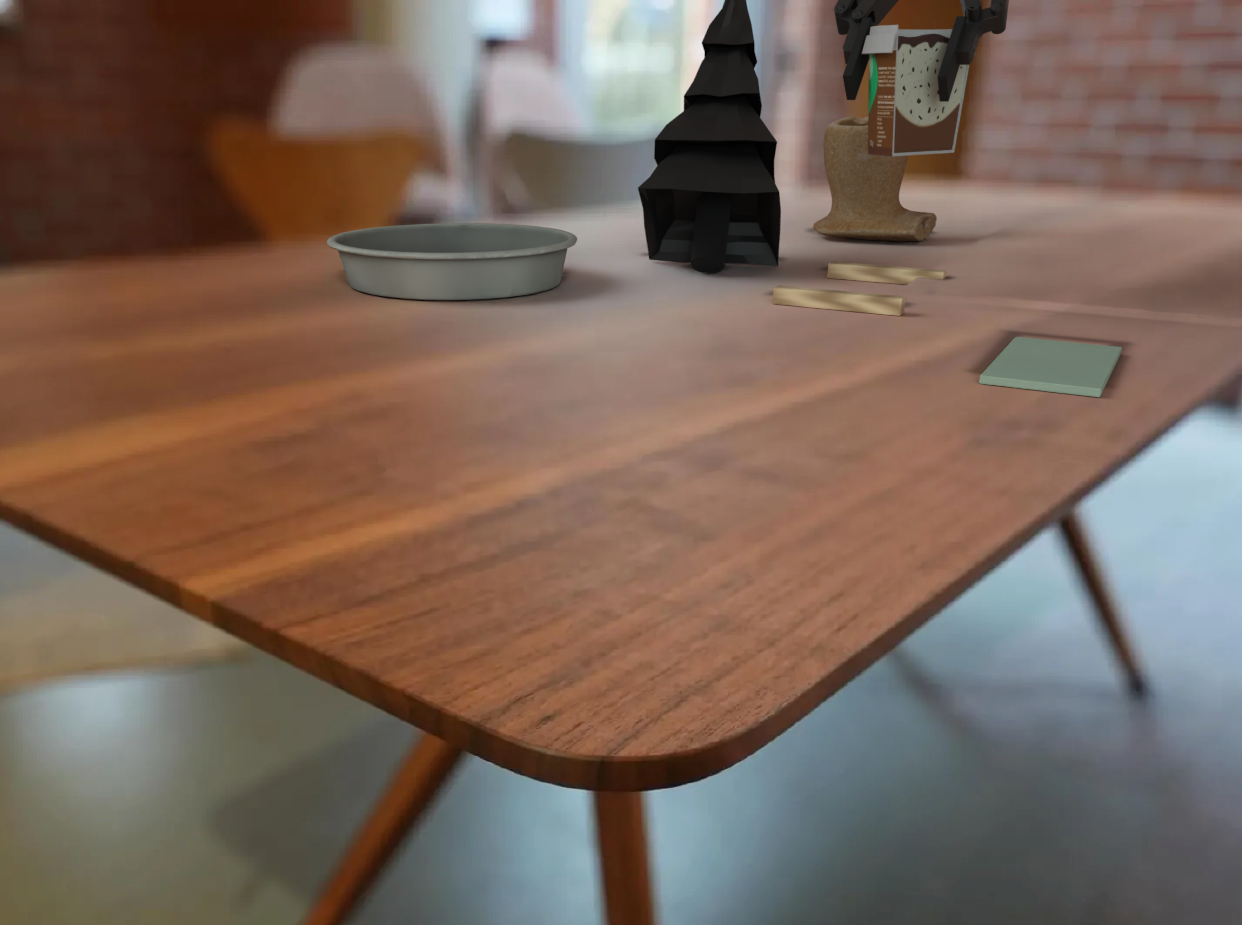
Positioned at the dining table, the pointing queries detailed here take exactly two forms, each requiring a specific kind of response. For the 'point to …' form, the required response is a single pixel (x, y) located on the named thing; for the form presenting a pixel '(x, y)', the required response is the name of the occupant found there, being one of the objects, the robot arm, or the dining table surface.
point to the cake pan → (453, 260)
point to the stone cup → (866, 189)
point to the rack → (856, 299)
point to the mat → (1053, 366)
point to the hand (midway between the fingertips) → (895, 88)
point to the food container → (910, 92)
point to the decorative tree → (716, 162)
